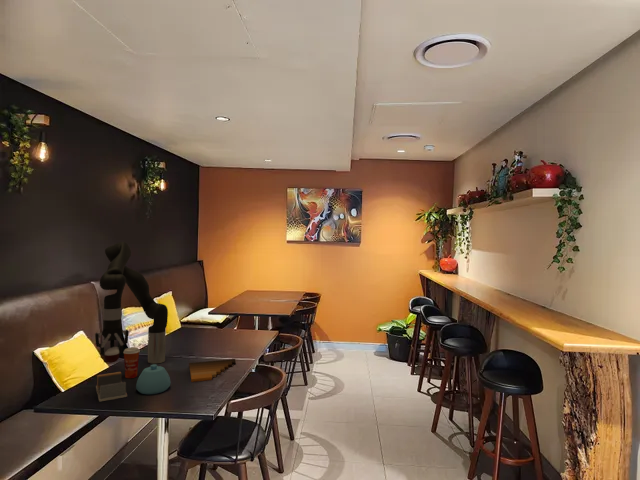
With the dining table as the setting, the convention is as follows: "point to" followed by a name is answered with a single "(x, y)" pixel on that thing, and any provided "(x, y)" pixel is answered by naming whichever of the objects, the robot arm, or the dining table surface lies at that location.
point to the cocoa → (112, 353)
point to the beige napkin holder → (111, 391)
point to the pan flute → (208, 369)
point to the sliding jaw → (108, 378)
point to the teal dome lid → (153, 380)
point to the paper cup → (131, 362)
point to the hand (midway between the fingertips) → (111, 354)
